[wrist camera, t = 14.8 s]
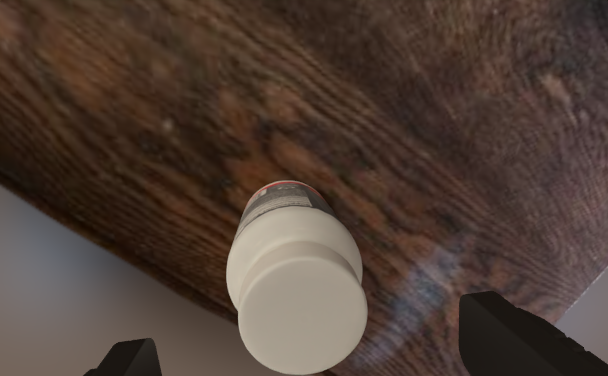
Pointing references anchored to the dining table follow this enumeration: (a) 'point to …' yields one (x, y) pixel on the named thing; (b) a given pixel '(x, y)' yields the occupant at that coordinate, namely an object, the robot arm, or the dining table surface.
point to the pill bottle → (296, 281)
